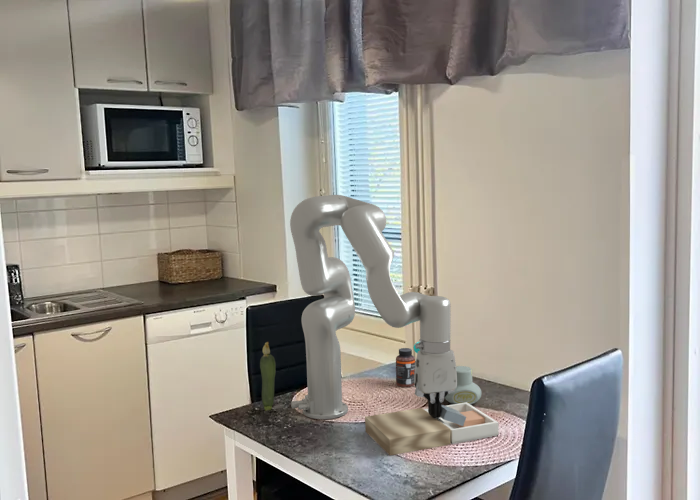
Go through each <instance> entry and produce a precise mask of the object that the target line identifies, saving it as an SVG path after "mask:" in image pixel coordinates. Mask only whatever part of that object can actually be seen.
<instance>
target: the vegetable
mask: <svg viewBox="0 0 700 500" xmlns="http://www.w3.org/2000/svg"><path fill="white" fill-rule="evenodd" d="M269 344H270V343H269V341H266V342H265V343H264V345H263V347H262V354H263V355H262V356H261V358H260V360H259V369H260V374H261V375H260V376H261V402H262V406H263V408H264V411H265V412H267V411H271V410H272V409H273V405H274V401H275V400H274V399H275V377H276V366H277V364H276V359H275V356H273V355H272V354H271V350H270V345H269Z"/></svg>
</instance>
